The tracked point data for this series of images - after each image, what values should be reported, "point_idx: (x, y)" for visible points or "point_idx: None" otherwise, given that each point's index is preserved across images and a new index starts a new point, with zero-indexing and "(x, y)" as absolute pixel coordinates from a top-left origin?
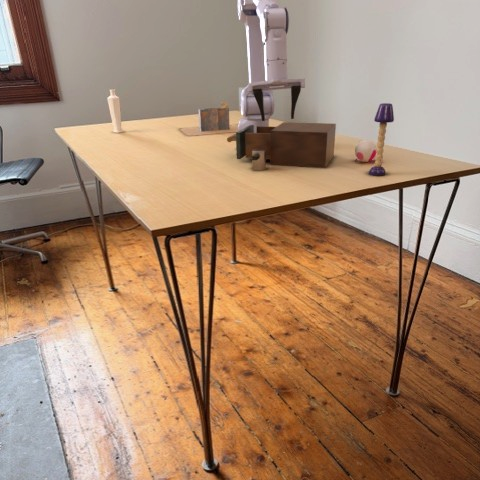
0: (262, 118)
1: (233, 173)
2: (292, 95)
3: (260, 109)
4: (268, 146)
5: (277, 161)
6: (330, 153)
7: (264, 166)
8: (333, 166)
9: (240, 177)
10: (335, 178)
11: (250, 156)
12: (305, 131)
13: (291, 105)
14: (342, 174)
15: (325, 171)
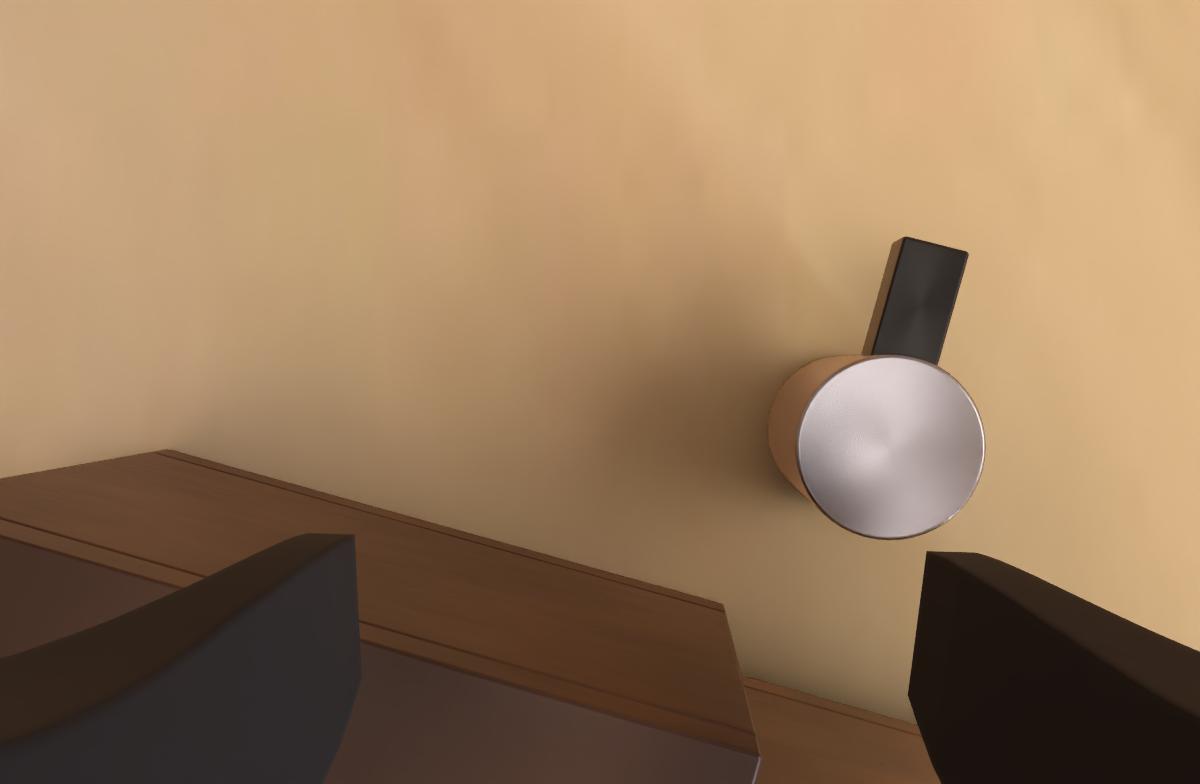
0: (981, 559)
1: (1114, 240)
2: (31, 718)
3: (1123, 622)
4: (763, 735)
5: (644, 590)
6: None
7: (788, 382)
8: None
9: (1029, 72)
10: (103, 32)
11: None
12: None
13: (236, 612)
14: (28, 182)
15: (174, 302)
